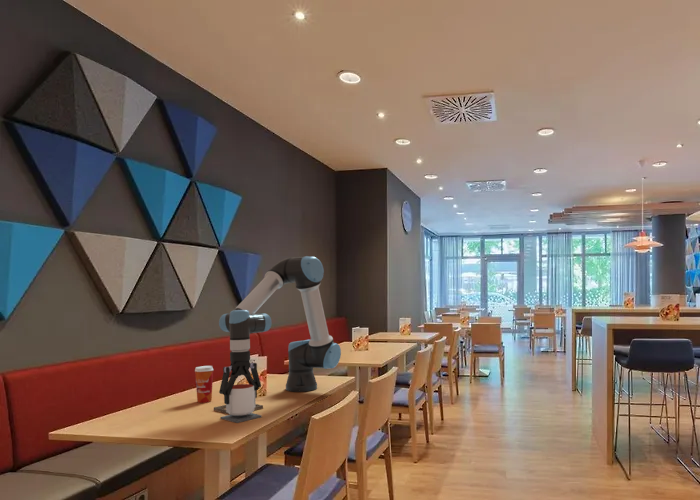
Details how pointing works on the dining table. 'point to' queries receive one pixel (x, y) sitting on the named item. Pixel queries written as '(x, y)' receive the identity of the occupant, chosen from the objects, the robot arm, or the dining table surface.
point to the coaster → (241, 417)
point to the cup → (242, 399)
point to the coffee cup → (204, 383)
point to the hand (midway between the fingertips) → (241, 409)
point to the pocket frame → (223, 410)
